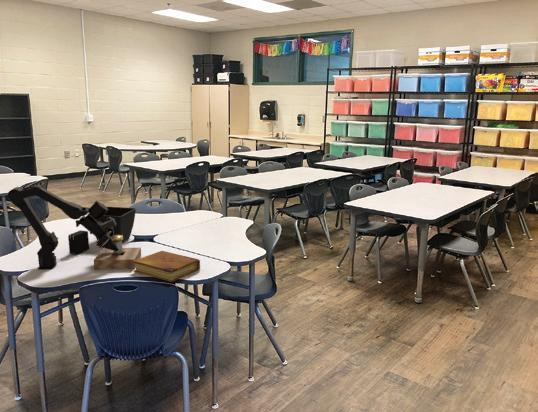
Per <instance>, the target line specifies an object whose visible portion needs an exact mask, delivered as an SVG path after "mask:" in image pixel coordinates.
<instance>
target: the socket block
mask: <svg viewBox="0 0 538 412" xmlns="http://www.w3.org/2000/svg"><path fill="white" fill-rule="evenodd" d="M122 254H123V255H116V256H114V253H113V250H110V249H106V248H102V249H101V250H100V251H99V253H98V254H97V255H96V256H95V258H94V259H93V270H95V271H96V270H99V271H100V270H136V263H133V261H134V260H137V259H140V258H142V247H122Z"/></svg>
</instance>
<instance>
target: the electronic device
mask: <svg viewBox="0 0 538 412" xmlns="http://www.w3.org/2000/svg"><path fill="white" fill-rule="evenodd" d="M67 238H68V251H69V254H70V255H76V256H77V255H80V254H83V253H85V252H86V251H88V250H89V249H90V242H89V241H90V239H89V231H88V230H78V231H75V232H73V233H70V234H68V237H67Z"/></svg>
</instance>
